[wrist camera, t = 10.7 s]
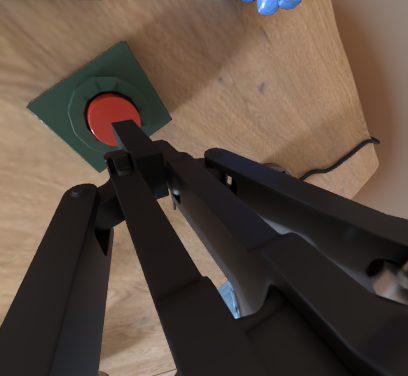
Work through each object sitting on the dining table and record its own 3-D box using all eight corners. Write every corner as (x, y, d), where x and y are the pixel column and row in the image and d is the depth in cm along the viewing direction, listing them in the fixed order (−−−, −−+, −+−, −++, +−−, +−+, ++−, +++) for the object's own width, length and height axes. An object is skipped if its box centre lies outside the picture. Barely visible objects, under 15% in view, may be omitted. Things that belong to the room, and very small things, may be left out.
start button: (116, 83, 20) (119, 86, 18) (144, 123, 23) (149, 128, 22) (75, 111, 19) (76, 116, 18) (110, 148, 23) (113, 155, 21)
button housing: (121, 41, 21) (129, 39, 18) (167, 115, 27) (178, 123, 24) (28, 103, 20) (21, 112, 17) (97, 166, 26) (101, 181, 23)
